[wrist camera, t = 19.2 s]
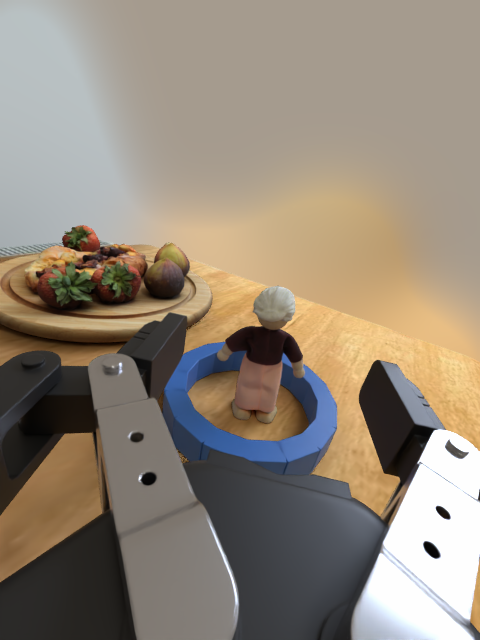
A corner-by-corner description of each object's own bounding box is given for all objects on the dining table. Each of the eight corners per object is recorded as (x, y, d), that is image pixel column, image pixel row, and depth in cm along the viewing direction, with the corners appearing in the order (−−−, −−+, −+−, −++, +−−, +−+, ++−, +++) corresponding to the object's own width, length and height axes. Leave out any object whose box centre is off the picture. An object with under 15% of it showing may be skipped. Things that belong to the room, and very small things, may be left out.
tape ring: (125, 439, 23) (125, 412, 21) (205, 347, 36) (208, 328, 35) (323, 523, 19) (336, 498, 18) (329, 388, 33) (337, 369, 32)
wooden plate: (0, 258, 50) (-10, 208, 46) (179, 263, 65) (182, 226, 62) (-64, 367, 26) (-95, 279, 22) (245, 334, 41) (256, 280, 37)
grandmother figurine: (281, 397, 30) (316, 285, 25) (291, 426, 27) (334, 303, 21) (208, 393, 29) (228, 273, 23) (209, 423, 25) (232, 290, 20)
